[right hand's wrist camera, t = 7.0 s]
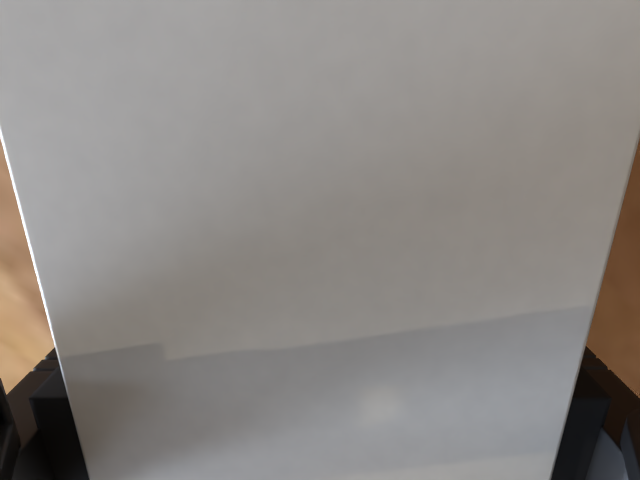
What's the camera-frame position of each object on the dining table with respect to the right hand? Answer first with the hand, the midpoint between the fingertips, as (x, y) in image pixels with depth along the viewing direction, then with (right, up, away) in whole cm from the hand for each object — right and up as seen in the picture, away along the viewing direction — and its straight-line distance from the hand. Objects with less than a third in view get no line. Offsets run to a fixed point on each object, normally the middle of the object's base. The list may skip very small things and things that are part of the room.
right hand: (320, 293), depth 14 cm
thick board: (0, -27, +11) cm, 29 cm away
